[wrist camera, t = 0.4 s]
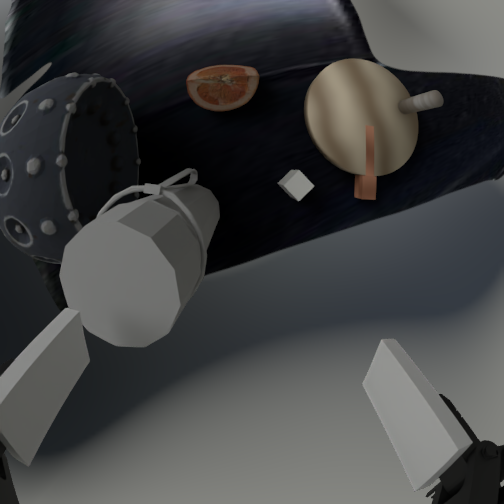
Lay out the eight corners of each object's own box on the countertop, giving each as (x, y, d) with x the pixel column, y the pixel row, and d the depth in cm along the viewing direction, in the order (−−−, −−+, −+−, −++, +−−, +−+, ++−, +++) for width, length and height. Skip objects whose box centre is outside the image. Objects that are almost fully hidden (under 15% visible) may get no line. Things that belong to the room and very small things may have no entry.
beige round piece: (334, 209, 35) (366, 224, 26) (285, 76, 30) (302, 46, 20) (425, 177, 34) (469, 183, 25) (385, 59, 29) (421, 36, 19)
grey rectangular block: (291, 170, 35) (299, 170, 30) (304, 183, 35) (314, 186, 30) (277, 183, 35) (283, 185, 30) (290, 197, 36) (298, 201, 31)
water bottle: (218, 243, 37) (186, 369, 13) (161, 232, 36) (55, 333, 12) (231, 174, 34) (213, 182, 10) (171, 164, 34) (51, 162, 10)
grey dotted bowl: (145, 91, 30) (67, 33, 11) (149, 235, 36) (73, 299, 17) (79, 105, 30) (-17, 79, 11) (84, 238, 36) (-7, 292, 17)
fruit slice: (255, 67, 30) (258, 53, 26) (257, 113, 32) (261, 104, 28) (192, 71, 30) (185, 57, 25) (192, 116, 32) (185, 108, 27)
